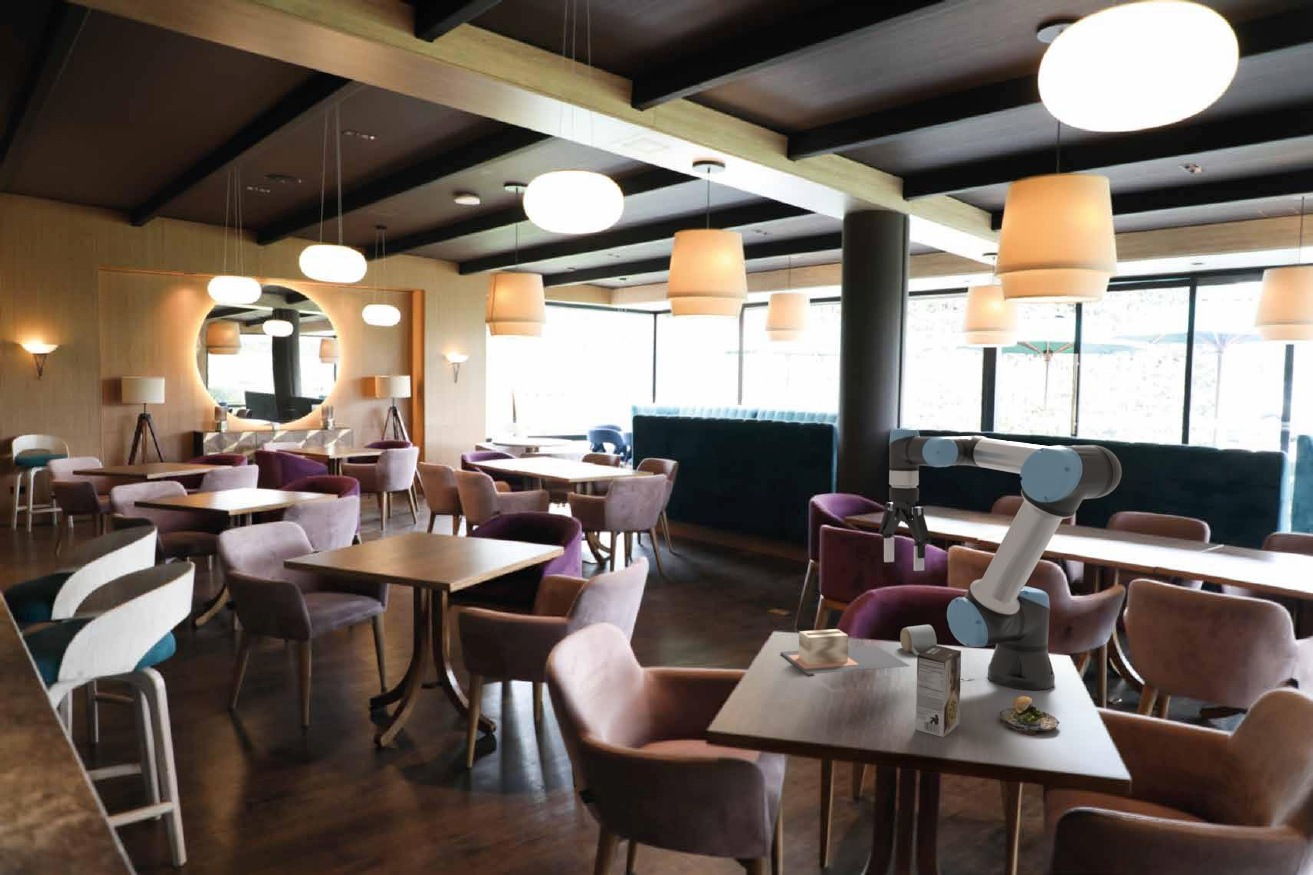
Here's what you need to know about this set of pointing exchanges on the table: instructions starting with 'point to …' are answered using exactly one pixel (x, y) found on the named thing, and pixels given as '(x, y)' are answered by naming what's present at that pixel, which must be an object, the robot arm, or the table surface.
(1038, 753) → the table surface
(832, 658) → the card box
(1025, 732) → the plate of food
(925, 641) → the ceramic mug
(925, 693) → the coffee box
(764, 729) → the table surface
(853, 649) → the mat
